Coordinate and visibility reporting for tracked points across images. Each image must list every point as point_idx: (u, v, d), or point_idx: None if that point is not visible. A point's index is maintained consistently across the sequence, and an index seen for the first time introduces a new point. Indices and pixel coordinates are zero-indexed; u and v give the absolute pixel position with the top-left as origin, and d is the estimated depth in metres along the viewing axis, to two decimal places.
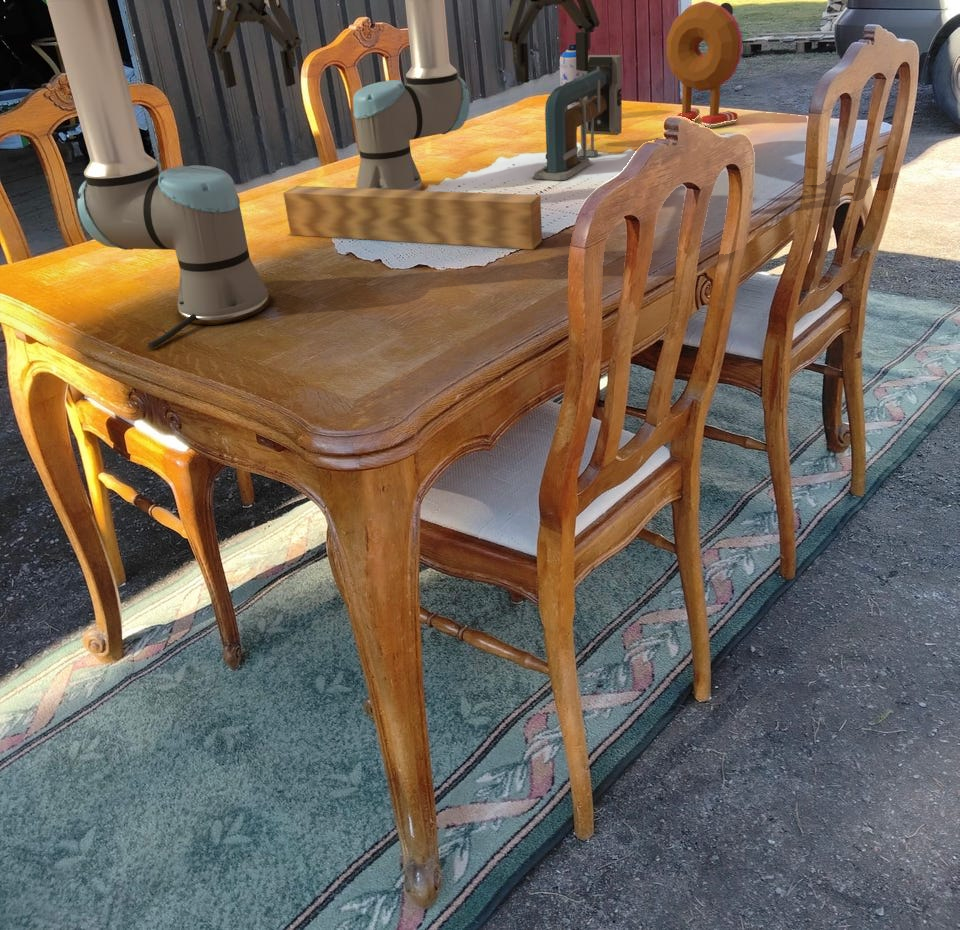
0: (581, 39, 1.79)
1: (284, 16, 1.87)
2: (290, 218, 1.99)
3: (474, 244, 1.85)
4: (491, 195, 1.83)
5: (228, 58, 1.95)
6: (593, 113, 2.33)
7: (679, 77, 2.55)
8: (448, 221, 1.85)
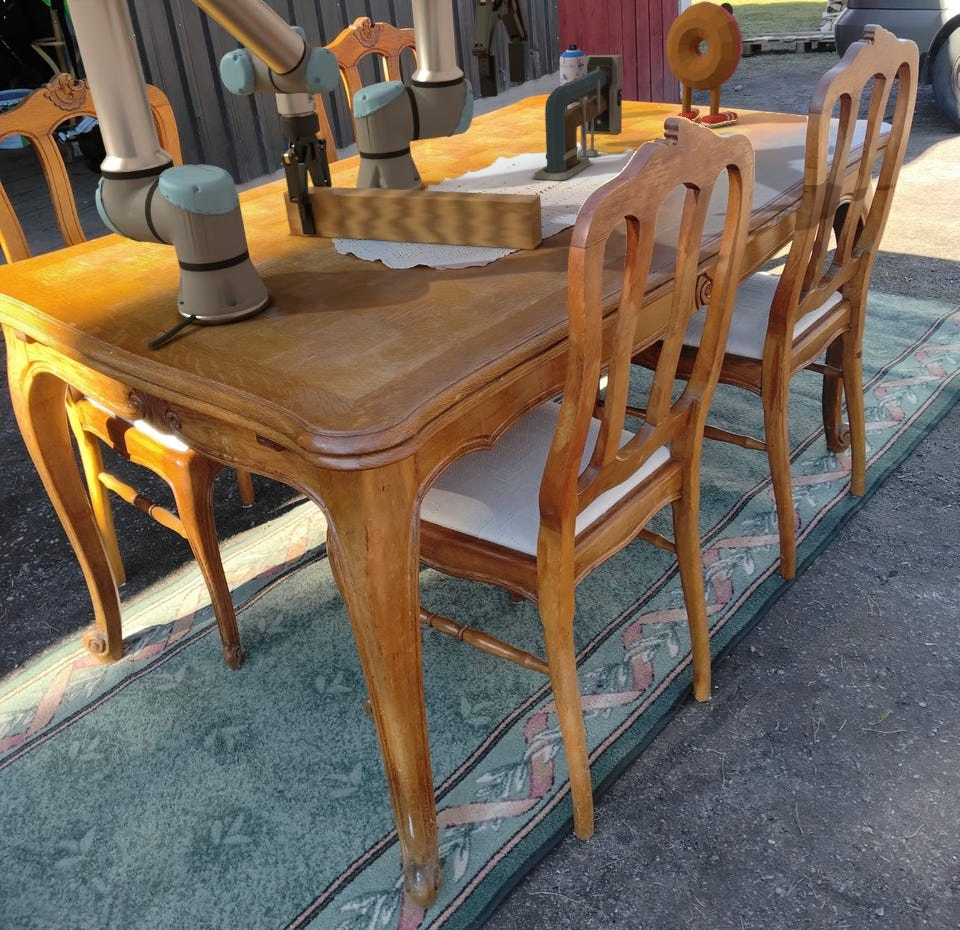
0: (517, 49, 1.73)
1: (290, 175, 1.90)
2: (290, 218, 1.99)
3: (474, 244, 1.85)
4: (491, 195, 1.83)
5: None
6: (593, 113, 2.33)
7: (679, 77, 2.55)
8: (448, 221, 1.85)
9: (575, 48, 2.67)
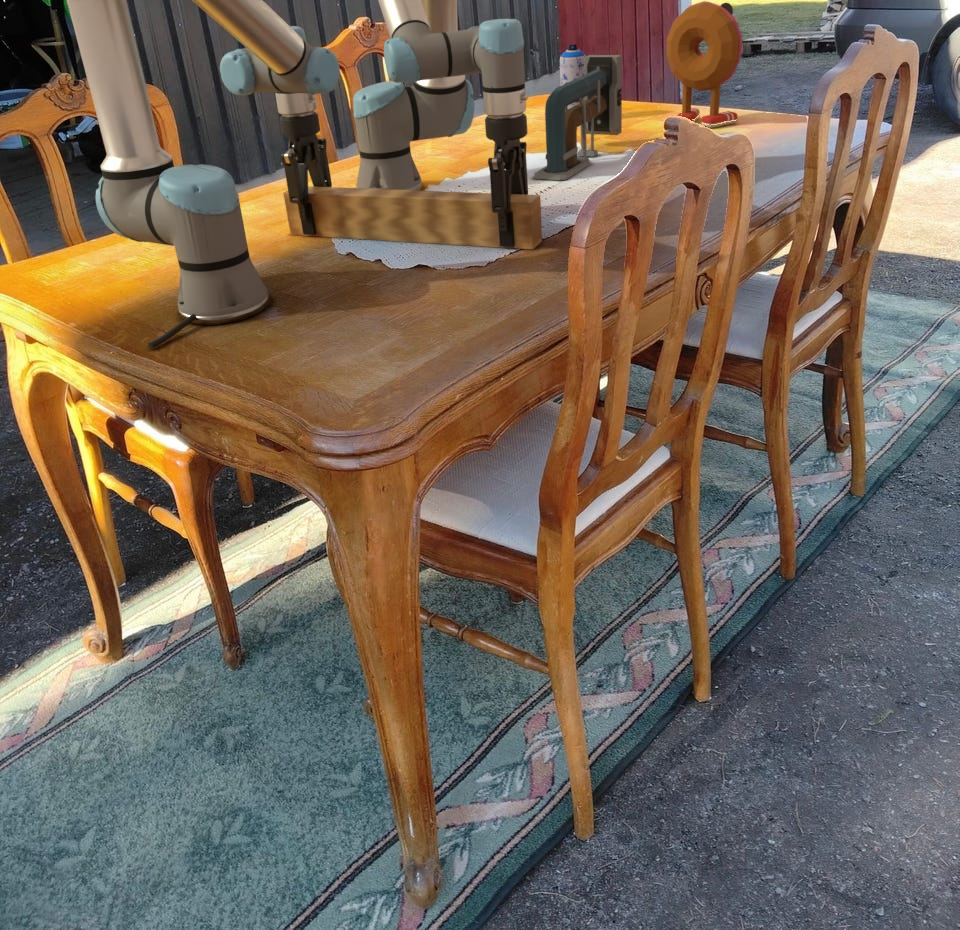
0: None
1: (290, 175, 1.90)
2: (290, 218, 1.99)
3: (474, 244, 1.85)
4: None
5: None
6: (593, 113, 2.33)
7: (679, 77, 2.55)
8: (448, 221, 1.85)
9: (575, 48, 2.67)
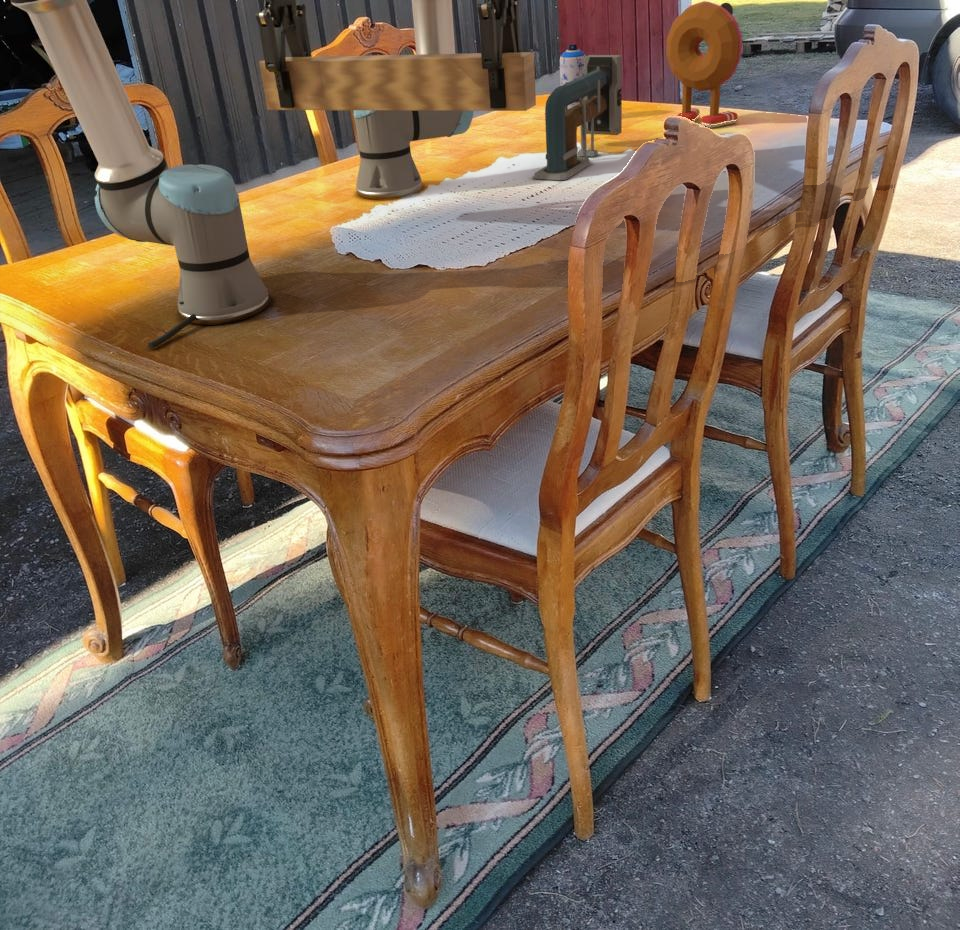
0: None
1: (266, 38, 1.77)
2: (267, 91, 1.86)
3: (463, 108, 1.73)
4: None
5: None
6: (593, 113, 2.33)
7: (679, 77, 2.55)
8: (435, 84, 1.73)
9: (575, 48, 2.67)
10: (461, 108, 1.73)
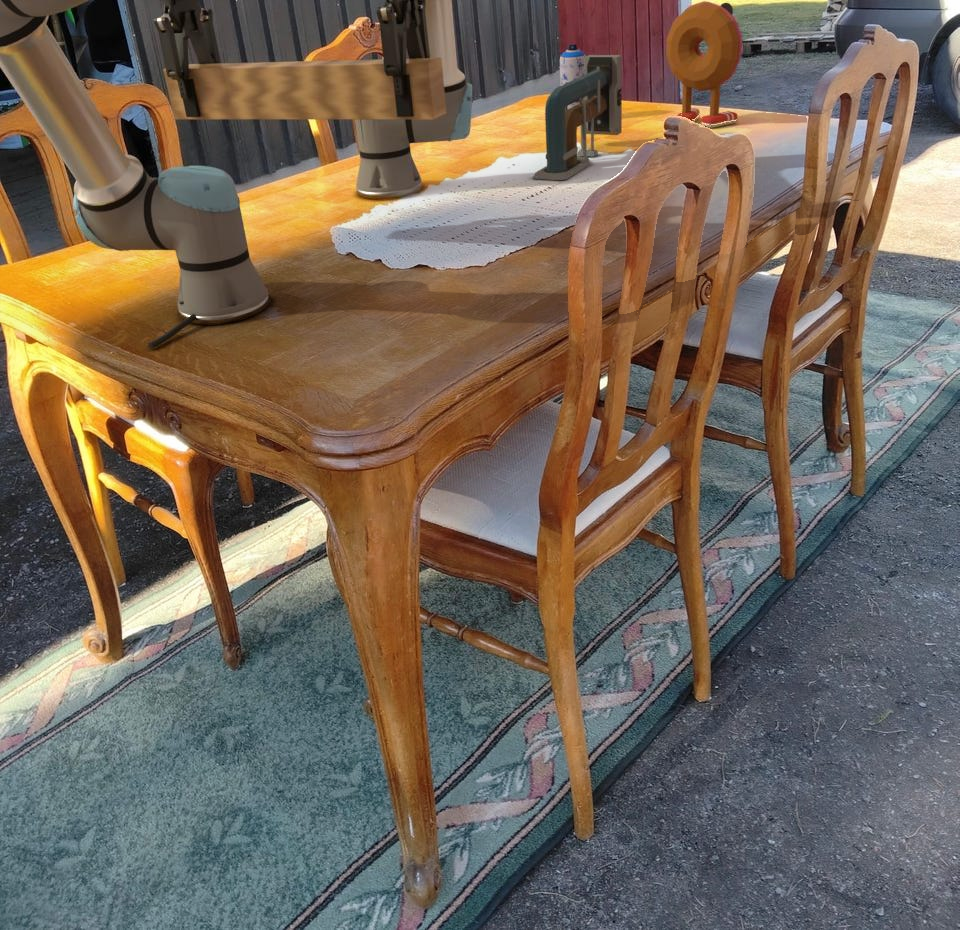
0: None
1: (166, 44, 1.69)
2: (172, 99, 1.78)
3: (370, 117, 1.65)
4: None
5: None
6: (593, 113, 2.33)
7: (679, 77, 2.55)
8: (340, 91, 1.65)
9: (575, 48, 2.67)
10: (368, 117, 1.65)
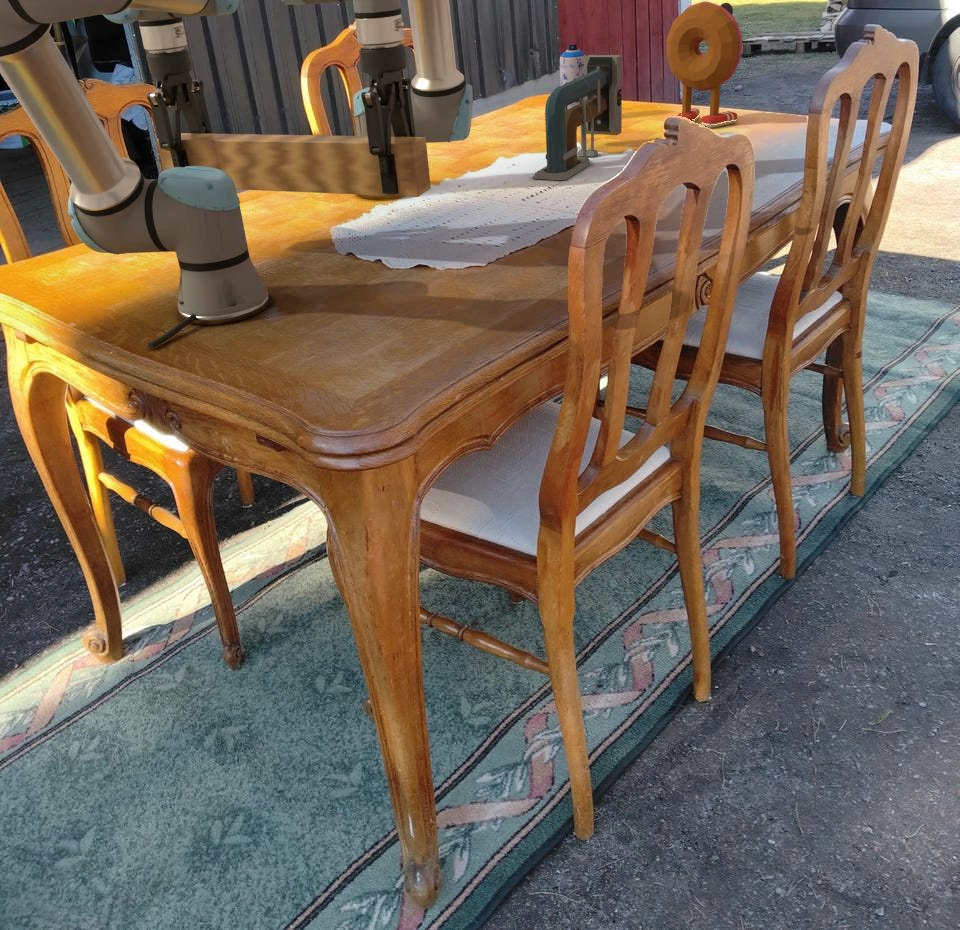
0: None
1: (159, 118, 1.73)
2: (165, 168, 1.83)
3: (356, 192, 1.69)
4: None
5: None
6: (593, 113, 2.33)
7: (679, 77, 2.55)
8: (328, 167, 1.69)
9: (575, 48, 2.67)
10: (354, 192, 1.69)
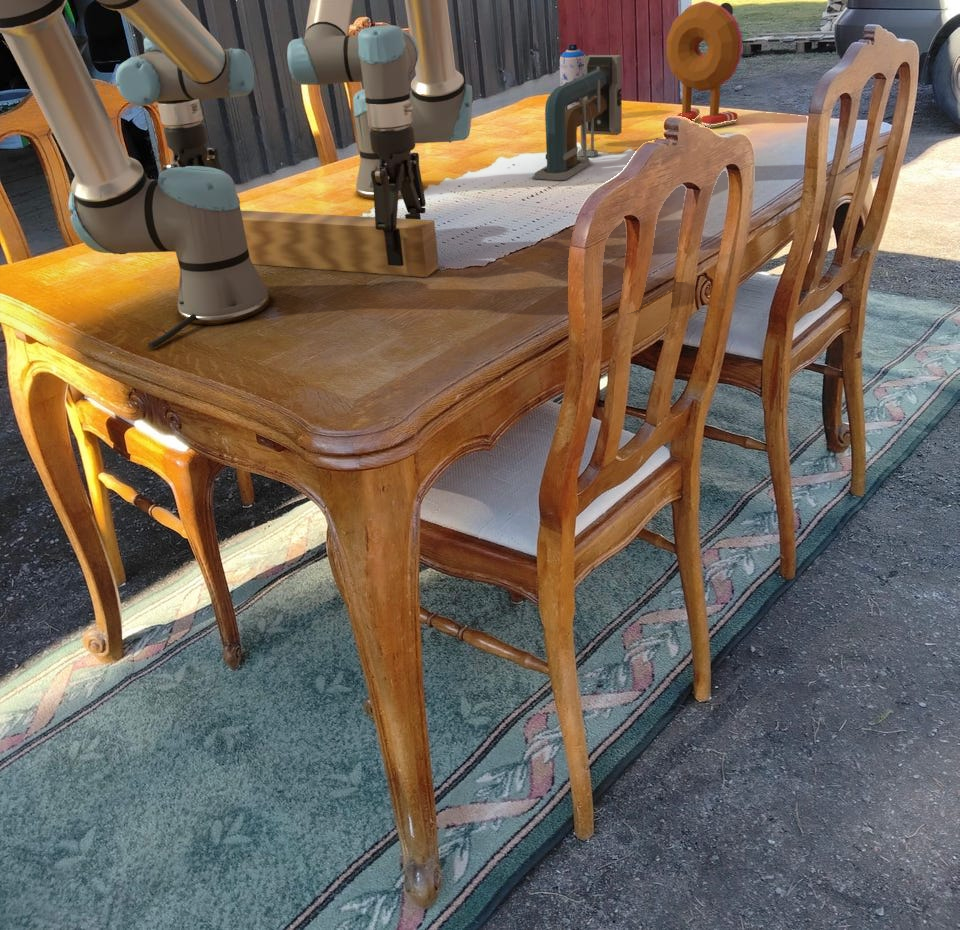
0: None
1: None
2: None
3: (367, 271, 1.77)
4: None
5: None
6: (593, 113, 2.33)
7: (679, 77, 2.55)
8: (340, 247, 1.76)
9: (575, 48, 2.67)
10: (366, 270, 1.77)
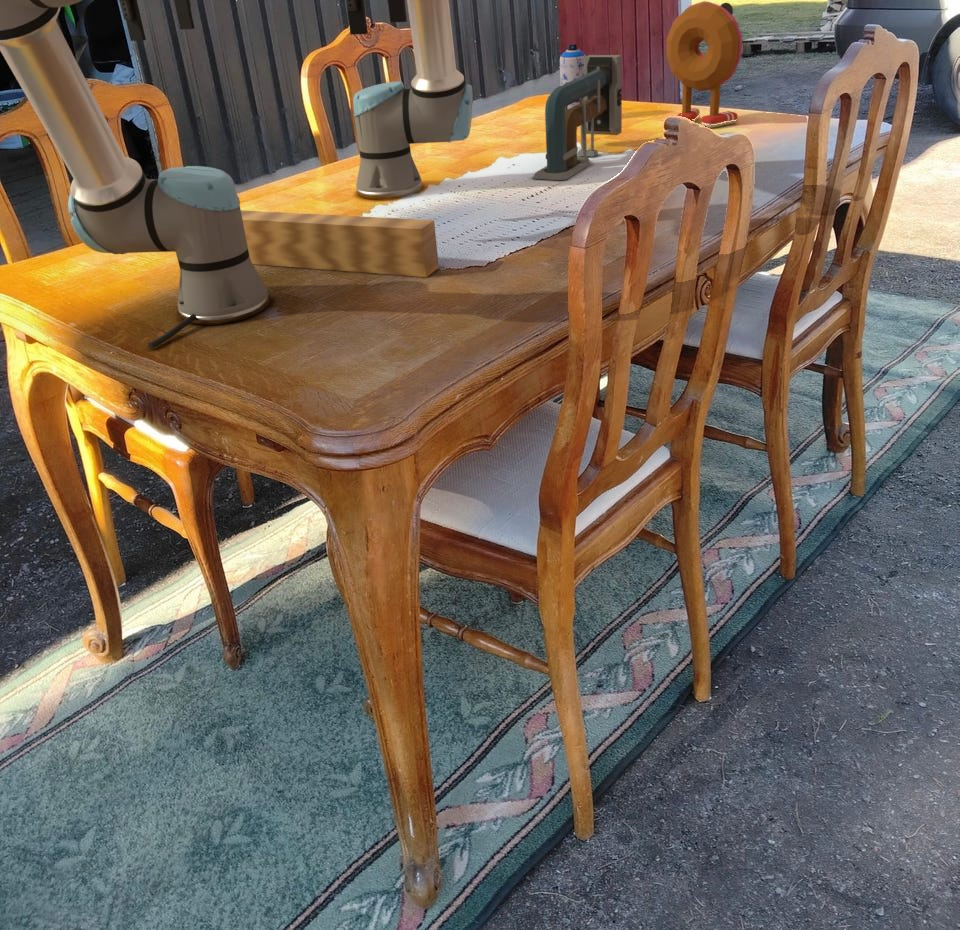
0: None
1: None
2: None
3: (367, 271, 1.77)
4: (384, 220, 1.74)
5: None
6: (593, 113, 2.33)
7: (679, 77, 2.55)
8: (340, 247, 1.76)
9: (575, 48, 2.67)
10: (366, 270, 1.77)
